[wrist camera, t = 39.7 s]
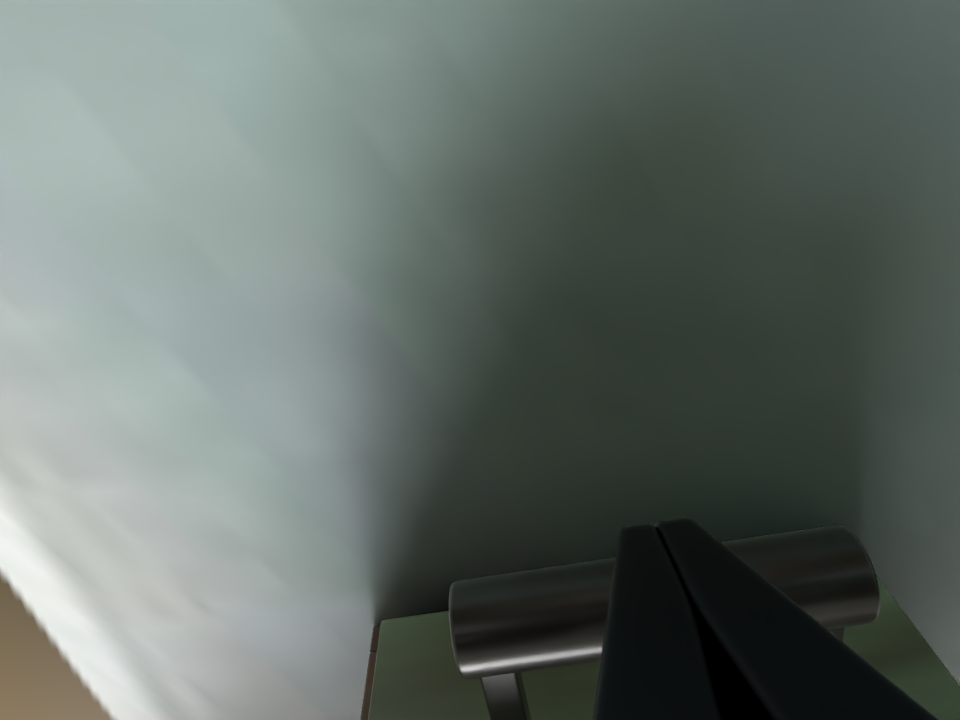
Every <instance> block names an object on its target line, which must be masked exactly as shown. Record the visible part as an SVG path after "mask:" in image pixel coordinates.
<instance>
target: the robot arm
mask: <svg viewBox="0 0 960 720" xmlns="http://www.w3.org/2000/svg"><path fill="white" fill-rule="evenodd" d="M592 720H939V719H937V718H936V717H935V716H934V715H932V714H931V713H930V712H929V711H928V710H926V709H925V708H924V707H923V706H921V705H920V704H919V703H918V702H916V701H915V700H914V699H913V698H912V697H910V696H909V695H908V694H907V693H905V692H904V691H903V690H902V689H901V688H899V687H898V686H897V685H896V684H894V683H893V682H892V681H891V680H889V679H888V678H887V677H886V676H885V675H883V674H882V673H881V672H880V671H878V670H877V669H876V668H875V667H874V666H872V665H871V664H870V663H869V662H867V661H866V660H865V659H864V658H862V657H861V656H860V655H859V654H858V653H856V652H855V651H854V650H853V649H851V648H850V647H849V646H848V645H847V644H845V643H844V642H843V641H842V640H840V639H839V638H838V637H837V636H835V635H834V634H833V633H832V632H831V631H829V630H828V629H827V628H826V627H824V626H823V625H822V624H821V623H820V622H818V621H817V620H816V619H815V618H813V617H812V616H811V615H810V614H808V613H807V612H806V611H805V610H804V609H802V608H801V607H800V606H799V605H797V604H796V603H795V602H794V601H793V600H791V599H790V598H789V597H788V596H786V595H785V594H784V593H783V592H781V591H780V590H779V589H778V588H777V587H775V586H774V585H773V584H772V583H770V582H769V581H768V580H767V579H766V578H764V577H763V576H762V575H761V574H759V573H758V572H757V571H756V570H754V569H753V568H752V567H751V566H750V565H748V564H747V563H746V562H745V561H743V560H742V559H741V558H740V557H739V556H737V555H736V554H735V553H734V552H732V551H731V550H730V549H729V548H727V547H726V546H725V545H724V544H723V543H721V542H720V541H719V540H718V539H716V538H715V537H714V536H713V535H712V534H710V533H709V532H708V531H707V530H705V529H704V528H703V527H702V526H700V525H699V524H698V523H697V522H696V521H694V520H693V519H691V518H688V517H681V518H675V519H668V520H662V521H659V522H657V523H656V525H655V526H654V525H653V524H651V523H643V524H637V525H630V526H624V527H622V528H621V529H620V531H619V534H618V541H617V548H616V555H615V562H614V569H613V576H612V583H611V590H610V597H609V604H608V611H607V619H606V626H605V633H604V640H603V647H602V654H601V661H600V668H599V675H598V682H597V689H596V696H595V703H594V710H593V717H592Z"/></svg>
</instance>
